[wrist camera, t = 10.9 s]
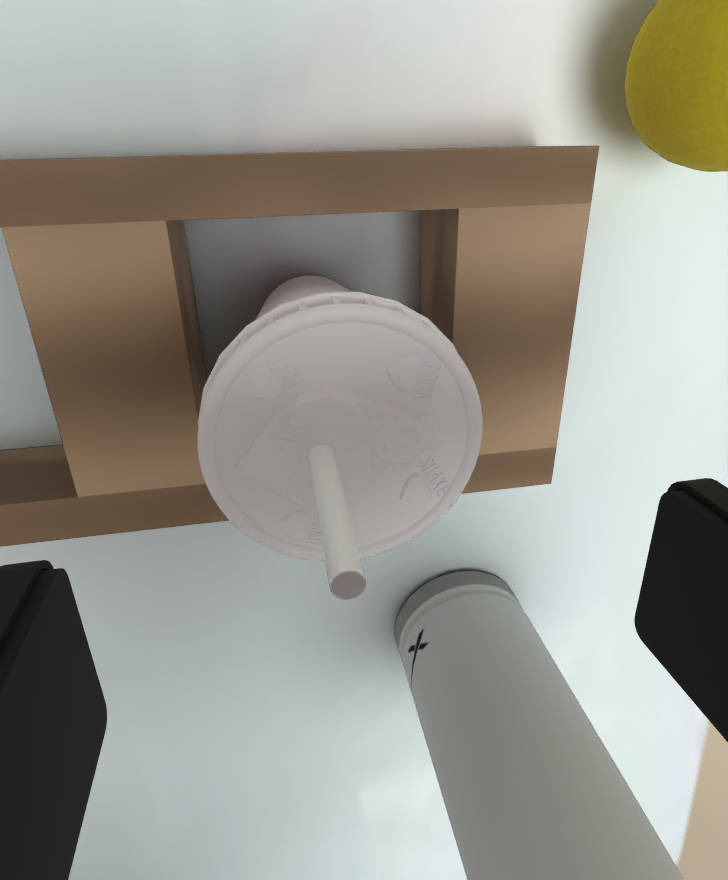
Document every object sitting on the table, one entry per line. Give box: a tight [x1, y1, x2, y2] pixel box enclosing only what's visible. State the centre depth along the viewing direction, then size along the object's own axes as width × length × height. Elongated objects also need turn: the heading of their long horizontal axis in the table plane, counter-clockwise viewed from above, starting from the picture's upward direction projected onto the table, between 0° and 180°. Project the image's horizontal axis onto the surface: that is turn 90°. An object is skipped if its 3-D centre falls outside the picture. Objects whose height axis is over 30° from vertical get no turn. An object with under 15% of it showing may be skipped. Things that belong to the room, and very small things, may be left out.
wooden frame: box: [0, 146, 599, 546], centre depth 19 cm, size 11×28×4 cm, turn 91°
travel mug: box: [395, 571, 684, 880], centre depth 20 cm, size 6×7×20 cm
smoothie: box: [198, 275, 482, 599], centre depth 15 cm, size 6×6×14 cm
